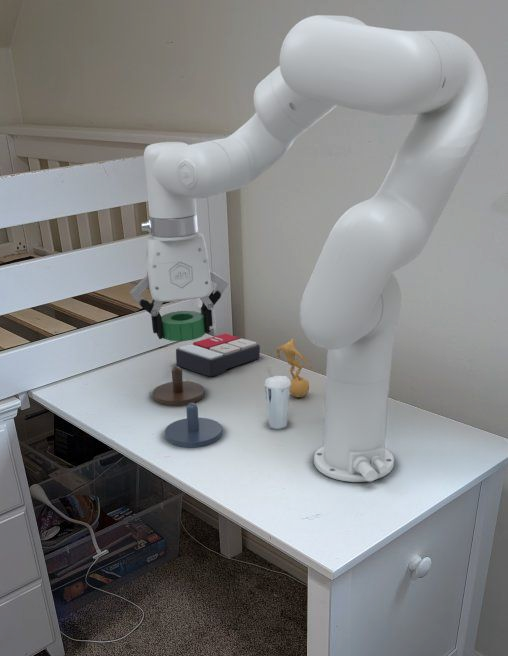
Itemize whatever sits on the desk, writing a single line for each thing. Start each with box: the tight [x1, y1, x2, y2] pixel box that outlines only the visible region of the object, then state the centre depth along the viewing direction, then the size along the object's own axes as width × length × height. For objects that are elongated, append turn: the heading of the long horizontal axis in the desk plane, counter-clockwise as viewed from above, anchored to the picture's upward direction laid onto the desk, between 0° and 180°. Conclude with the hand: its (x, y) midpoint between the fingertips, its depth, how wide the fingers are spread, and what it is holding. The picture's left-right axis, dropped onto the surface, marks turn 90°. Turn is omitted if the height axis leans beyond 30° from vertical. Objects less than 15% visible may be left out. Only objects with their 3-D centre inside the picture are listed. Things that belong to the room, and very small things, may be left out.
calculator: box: [175, 333, 261, 378], centre depth 160 cm, size 11×4×15 cm
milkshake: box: [264, 366, 291, 430], centre depth 130 cm, size 4×5×10 cm
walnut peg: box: [152, 365, 205, 407], centre depth 144 cm, size 10×10×6 cm
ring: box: [161, 310, 206, 342], centre depth 127 cm, size 7×7×3 cm
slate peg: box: [164, 402, 223, 448], centre depth 129 cm, size 10×10×6 cm
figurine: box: [276, 338, 312, 398], centre depth 140 cm, size 8×6×12 cm
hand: (183, 333), depth 128 cm, fingers closed on ring, 7 cm apart
